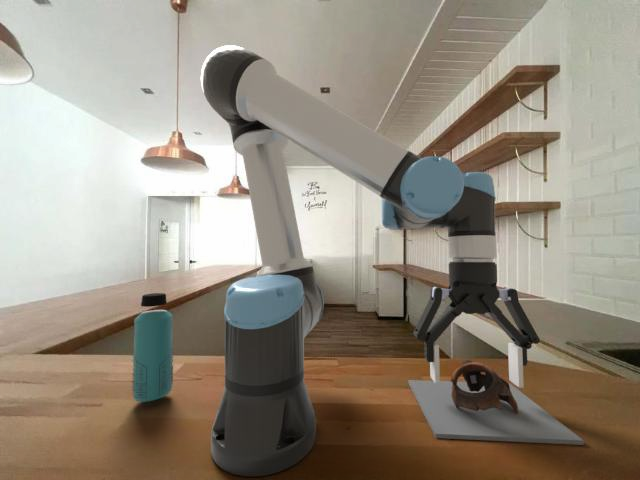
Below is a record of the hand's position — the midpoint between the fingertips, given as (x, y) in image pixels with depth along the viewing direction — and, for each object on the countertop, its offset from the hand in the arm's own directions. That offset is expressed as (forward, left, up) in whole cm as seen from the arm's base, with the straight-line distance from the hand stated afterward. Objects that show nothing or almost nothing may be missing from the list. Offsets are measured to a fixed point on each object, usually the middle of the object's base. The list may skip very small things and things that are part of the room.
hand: (475, 382), depth 47 cm
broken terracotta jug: (+1, -1, -4) cm, 4 cm away
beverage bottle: (-59, -2, -4) cm, 59 cm away
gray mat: (0, 0, -4) cm, 4 cm away
